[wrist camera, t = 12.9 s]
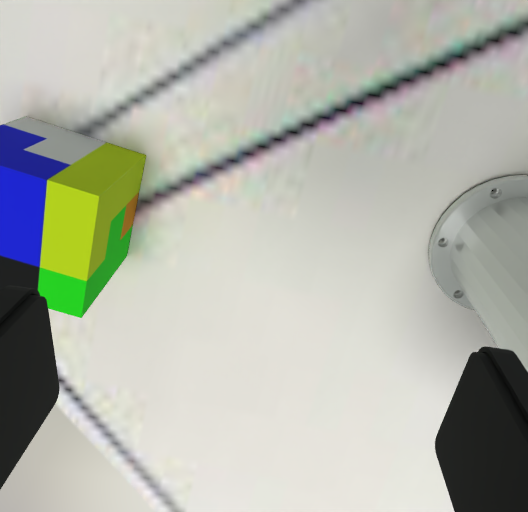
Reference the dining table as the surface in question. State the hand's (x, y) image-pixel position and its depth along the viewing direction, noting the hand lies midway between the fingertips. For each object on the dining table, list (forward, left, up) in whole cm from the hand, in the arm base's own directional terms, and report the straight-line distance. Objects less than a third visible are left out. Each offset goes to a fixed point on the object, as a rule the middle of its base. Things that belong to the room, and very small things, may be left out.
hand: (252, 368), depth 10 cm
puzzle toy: (+17, +8, -29) cm, 34 cm away
